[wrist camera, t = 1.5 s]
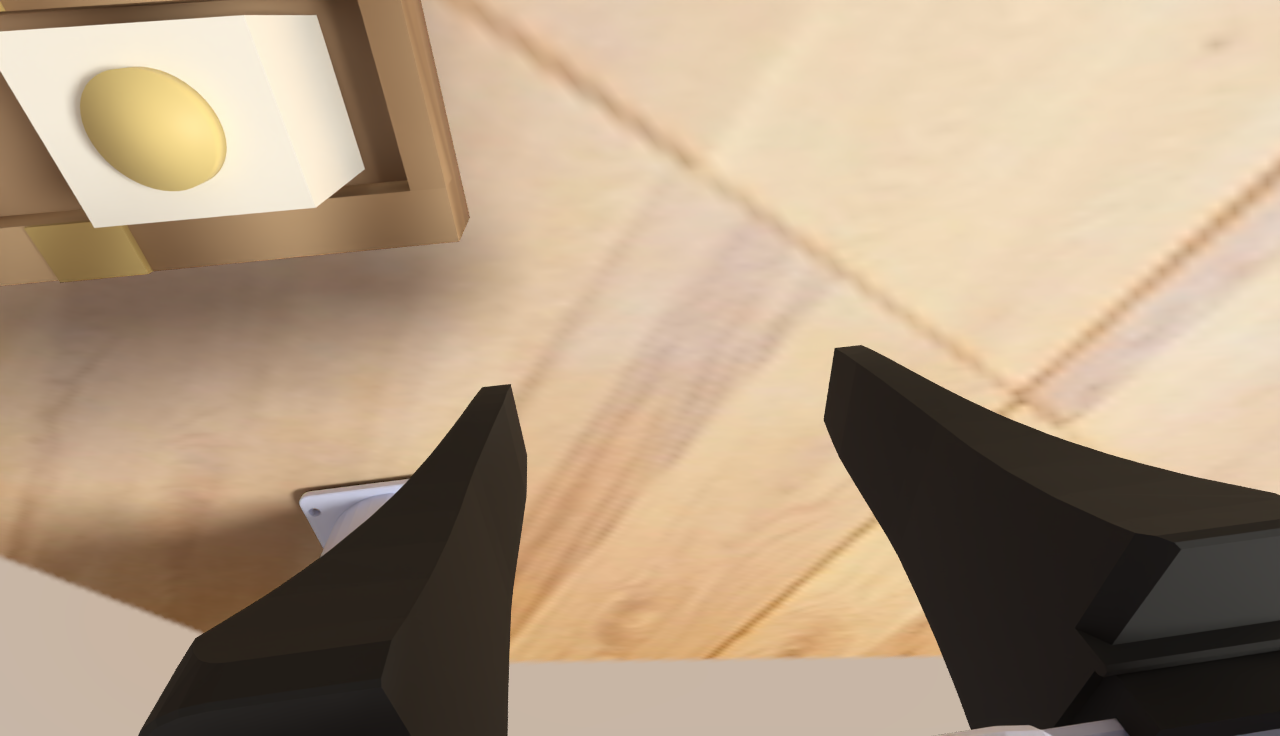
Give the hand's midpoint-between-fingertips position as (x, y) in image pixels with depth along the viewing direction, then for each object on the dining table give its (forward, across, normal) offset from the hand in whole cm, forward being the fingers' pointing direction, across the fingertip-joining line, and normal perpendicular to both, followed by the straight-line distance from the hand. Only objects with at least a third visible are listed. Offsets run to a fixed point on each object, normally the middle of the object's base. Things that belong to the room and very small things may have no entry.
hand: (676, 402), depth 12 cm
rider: (+8, +10, -6) cm, 14 cm away
